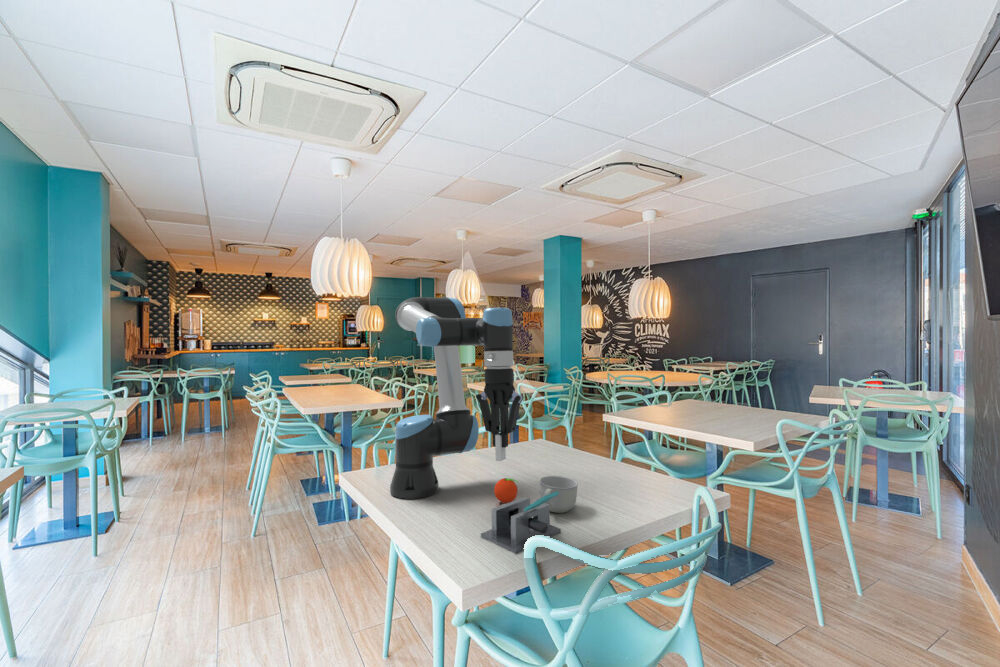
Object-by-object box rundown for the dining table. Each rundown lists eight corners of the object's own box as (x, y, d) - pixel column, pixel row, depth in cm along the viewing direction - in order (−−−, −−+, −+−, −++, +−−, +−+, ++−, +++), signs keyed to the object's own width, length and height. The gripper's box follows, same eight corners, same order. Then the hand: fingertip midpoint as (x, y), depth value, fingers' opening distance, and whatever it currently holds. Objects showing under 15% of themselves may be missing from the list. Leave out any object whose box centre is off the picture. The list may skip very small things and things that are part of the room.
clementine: (520, 497, 139) (520, 474, 139) (522, 506, 132) (522, 481, 132) (493, 498, 138) (493, 474, 138) (494, 507, 131) (494, 482, 131)
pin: (499, 524, 115) (498, 506, 115) (511, 519, 118) (511, 502, 119) (538, 540, 106) (538, 521, 106) (550, 534, 109) (550, 516, 109)
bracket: (480, 536, 112) (480, 509, 112) (525, 518, 123) (525, 493, 123) (515, 553, 103) (515, 523, 103) (560, 532, 114) (560, 504, 114)
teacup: (552, 499, 137) (552, 472, 137) (584, 507, 130) (584, 479, 130) (525, 513, 126) (524, 484, 126) (558, 523, 119) (558, 492, 119)
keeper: (523, 512, 109) (522, 509, 109) (536, 507, 112) (535, 504, 113) (545, 499, 104) (544, 496, 104) (559, 493, 107) (557, 491, 108)
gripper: (469, 368, 118) (471, 460, 117) (515, 368, 112) (517, 465, 111) (484, 366, 125) (486, 454, 124) (527, 367, 119) (529, 458, 118)
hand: (500, 459), depth 118 cm, fingers closed
